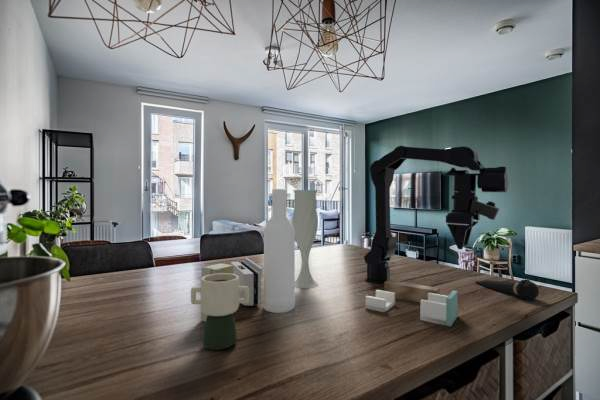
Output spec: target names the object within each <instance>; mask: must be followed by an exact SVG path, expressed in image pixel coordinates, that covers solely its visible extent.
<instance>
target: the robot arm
mask: <svg viewBox="0 0 600 400" xmlns="http://www.w3.org/2000/svg"><path fill="white" fill-rule="evenodd" d="M407 160H414V161H415V160H417V161H425V162H437V163H444V164H447V165H452V166H455V167H459V168H462V169H456V168H455V167H451V169H450V170H448V172H446V173H445V176H446V177H453V188H452V189H453V192H452V195H451V200H452V209H451V210H450V211H451V212H449V213H447V214H446V215H445V224H446V225H447V227H448V230H449V232H450V233H451V236H452V238H453V240H454V243H455V245H456V247H457V249H458V250H463V249H464V246H468V245H469V241H470V237H471V233H472V230H473V227H475V225H477V224H478V223H479V221H480V219H481V217H480V216H483V217H486V218H487V219H489V220H493V221H494V220H495V219H496V216H497V215H498V213H499V210H500V208H499V207H496V202H493V201H488V202H486V203H484V202H481V201H479V197H478V196H477V195H476V193H477V188H478V189H481V191H482V193H507V192H508V188H509V179H508V172H507V171H508V170H507V167H506V166H497V167H485V164H484V165H483V163H481V162H480V160H479V153H478V152H477V151H476V150H475V149H474V148H472V147H468V146H464V145H462V146H456V147H453V146H452V147H448V148H447V147H446V148H429V147H417V146H416V147H415V146H404V145H398V146H396V147H395V148H394V149H393V150H392V151H390V152H388V153H387V154H384V155H383V156H381V157H380V158H379V159H378V160H375V161H373V162H372V163H371V164H370V167H369V174H370V180H371V182H372V184H373V187H374V193H375V194H374V195H375V197H374V198H375V199H374V200H375V201H374V203H375V205H374V206H375V208H374V209H375V231H374V234H373V237H372V240H371V246H370V251H368V252H367V253H366V254H365V255H364V256H363V259H364V262H365V264H366V278H365V279H364V281H365V282H371V283H377V284H384V283H385V282H387V281H388V280H391V278H390V277H391V275H390V274H391V272H390V270H391V269H390V266H389V262H390V261H391V257H393V255H395V253H396V250H397V249H398V246H397V243H398V242H397V241H398V236H393V234H392V232H391V192H390V191H391V186H392V183H393V181H394V176H395V171H396V170H397V169H399V168H400V167H401V166H402V165H403V163H404V162H405V161H407ZM464 169H466V170H464ZM468 169H469V170H471V171H472V172H473V171H474V172H477V173H474V172H473V173H470V172H469V170H468Z"/></svg>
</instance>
